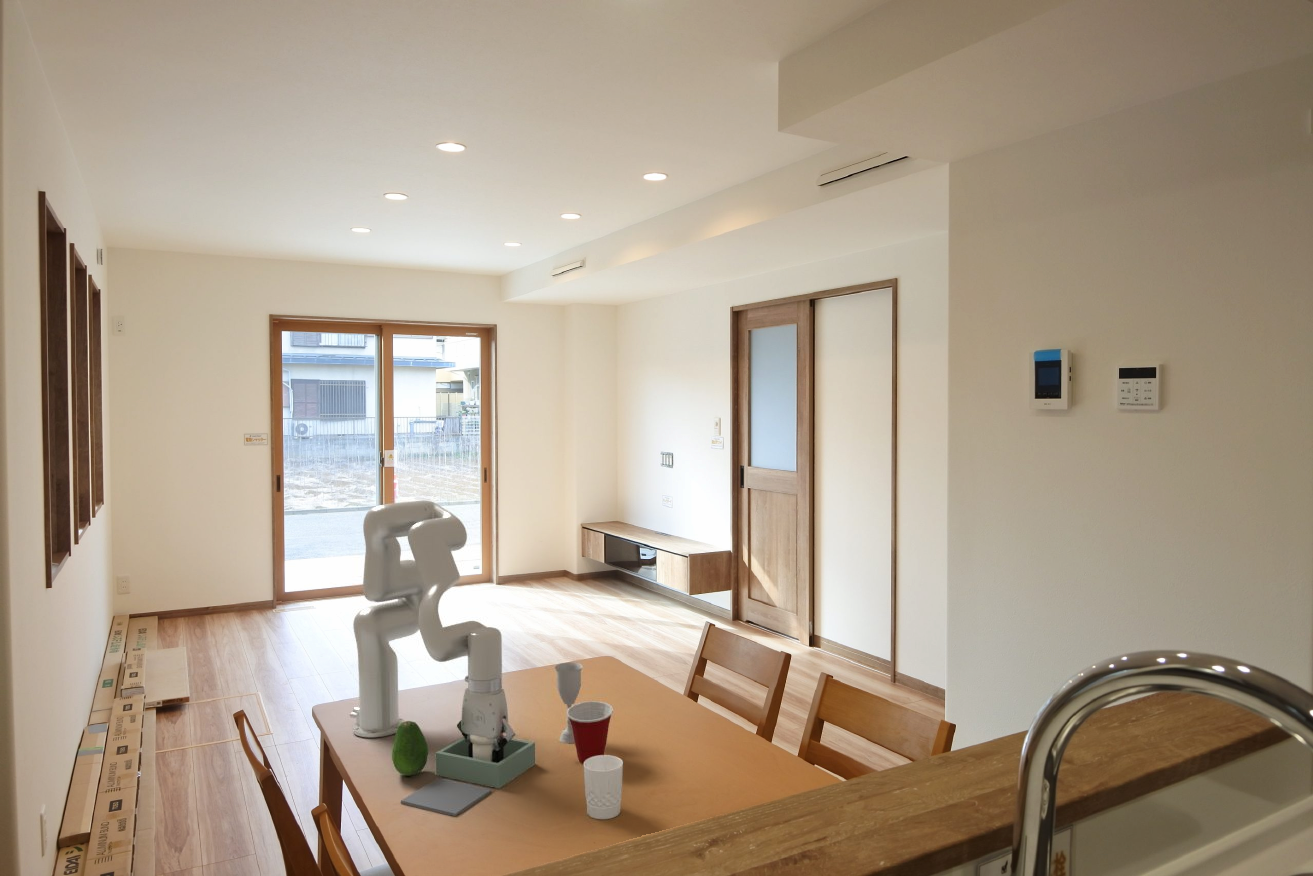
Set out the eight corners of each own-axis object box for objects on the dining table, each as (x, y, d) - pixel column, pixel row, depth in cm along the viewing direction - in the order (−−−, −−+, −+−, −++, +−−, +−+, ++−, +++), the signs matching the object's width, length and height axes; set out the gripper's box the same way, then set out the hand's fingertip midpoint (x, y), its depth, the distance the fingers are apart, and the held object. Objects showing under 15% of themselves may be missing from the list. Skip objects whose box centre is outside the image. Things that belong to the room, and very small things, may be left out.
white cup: (584, 803, 174) (583, 755, 174) (622, 802, 175) (622, 754, 174) (584, 822, 166) (583, 772, 166) (624, 820, 167) (623, 770, 167)
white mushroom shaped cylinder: (463, 772, 190) (463, 734, 189) (482, 760, 196) (482, 724, 196) (489, 778, 187) (489, 739, 186) (508, 766, 193) (507, 728, 193)
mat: (400, 803, 175) (400, 800, 175) (439, 780, 186) (438, 777, 186) (455, 816, 169) (455, 813, 169) (491, 792, 180) (491, 789, 180)
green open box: (435, 774, 188) (435, 752, 188) (474, 752, 201) (474, 731, 201) (499, 788, 181) (498, 765, 181) (535, 764, 194) (535, 742, 194)
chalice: (578, 746, 204) (577, 672, 204) (551, 744, 206) (550, 670, 205) (587, 734, 212) (586, 663, 211) (561, 732, 213) (560, 661, 212)
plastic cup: (558, 766, 193) (558, 714, 192) (579, 748, 203) (578, 699, 202) (602, 773, 189) (601, 719, 189) (621, 754, 199) (620, 704, 199)
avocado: (390, 771, 191) (389, 718, 190) (426, 765, 194) (425, 713, 193) (394, 785, 183) (393, 730, 183) (431, 778, 186) (430, 725, 186)
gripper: (443, 683, 191) (444, 762, 191) (507, 694, 184) (508, 776, 184) (464, 674, 198) (465, 750, 198) (526, 684, 190) (527, 763, 191)
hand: (486, 762), depth 191 cm, fingers closed on white mushroom shaped cylinder, 5 cm apart
